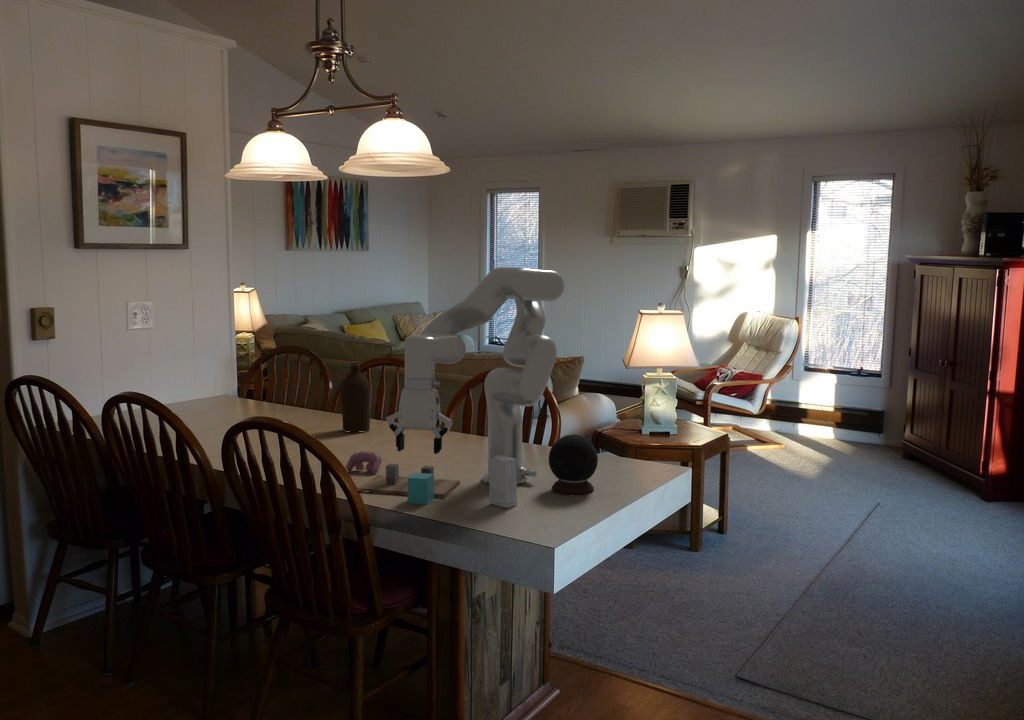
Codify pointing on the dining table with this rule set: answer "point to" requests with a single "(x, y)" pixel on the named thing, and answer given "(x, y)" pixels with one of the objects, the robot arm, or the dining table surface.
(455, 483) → the flat wooden board
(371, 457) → the video game controller
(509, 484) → the skincare box
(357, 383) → the olive oil
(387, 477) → the grey block
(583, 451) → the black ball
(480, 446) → the dining table surface
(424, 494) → the turquoise toy cube
